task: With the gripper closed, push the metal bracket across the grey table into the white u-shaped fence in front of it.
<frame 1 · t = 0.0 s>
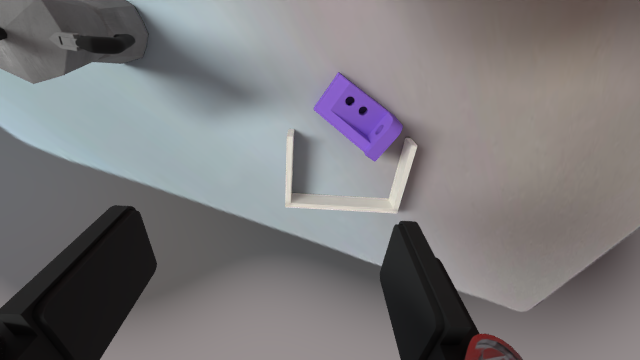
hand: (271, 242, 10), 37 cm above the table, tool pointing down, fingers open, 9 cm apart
coffeepot: (124, 29, 38), on the table
bracket: (353, 110, 45), on the table
white u-shaped fence: (345, 167, 50), on the table
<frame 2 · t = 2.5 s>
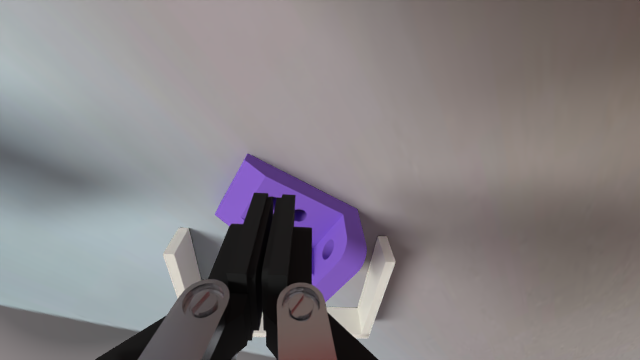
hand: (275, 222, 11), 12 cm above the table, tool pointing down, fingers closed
bracket: (289, 204, 27), on the table
white u-shaped fence: (284, 274, 32), on the table
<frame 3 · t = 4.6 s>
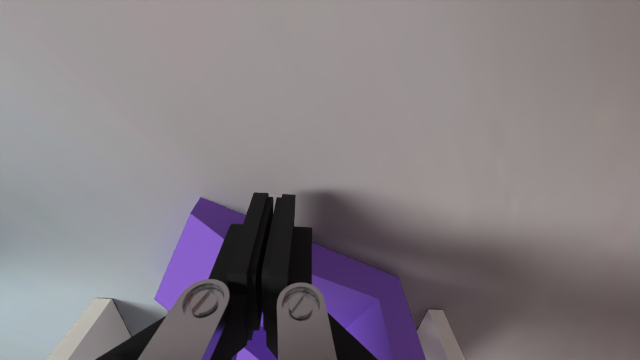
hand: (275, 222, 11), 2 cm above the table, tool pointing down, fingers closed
bracket: (284, 271, 16), on the table, touching gripper
white u-shaped fence: (275, 358, 20), on the table
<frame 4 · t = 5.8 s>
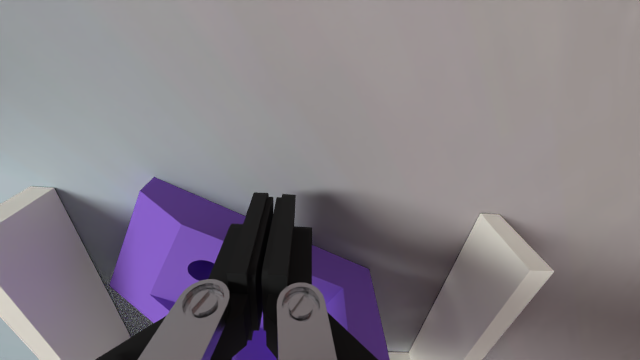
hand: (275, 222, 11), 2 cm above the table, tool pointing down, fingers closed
bracket: (250, 260, 15), on the table, touching gripper
white u-shaped fence: (277, 294, 16), on the table
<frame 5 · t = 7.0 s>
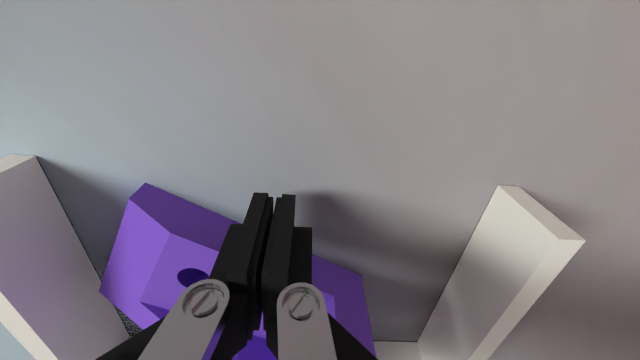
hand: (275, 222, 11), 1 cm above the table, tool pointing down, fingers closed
bracket: (242, 266, 15), on the table
white u-shaped fence: (278, 277, 15), on the table
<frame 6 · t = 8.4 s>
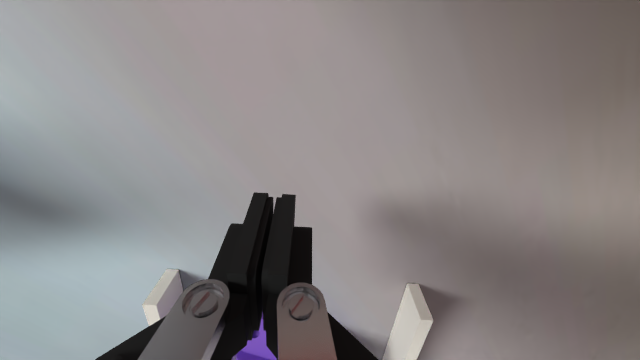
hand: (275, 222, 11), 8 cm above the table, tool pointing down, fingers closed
bracket: (272, 321, 27), on the table
white u-shaped fence: (292, 327, 26), on the table
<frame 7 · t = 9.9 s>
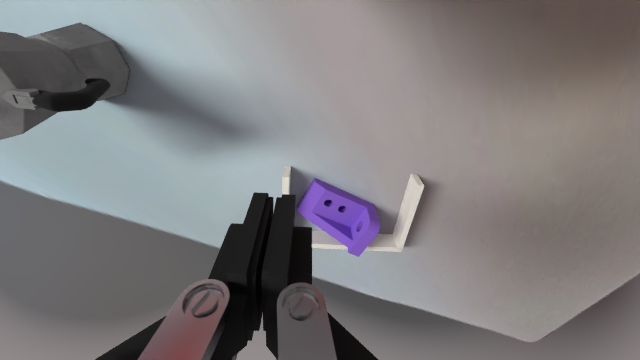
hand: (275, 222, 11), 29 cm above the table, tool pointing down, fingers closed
coffeepot: (102, 65, 34), on the table
bracket: (335, 204, 47), on the table
white u-shaped fence: (345, 204, 47), on the table
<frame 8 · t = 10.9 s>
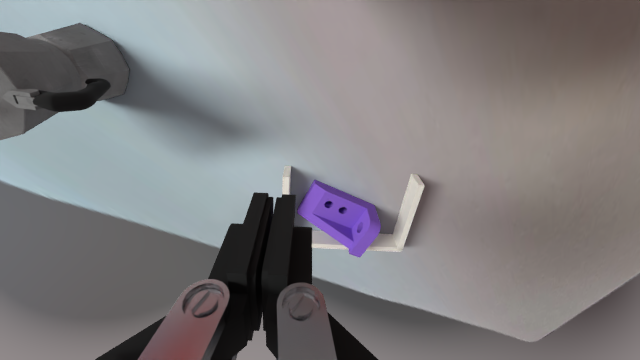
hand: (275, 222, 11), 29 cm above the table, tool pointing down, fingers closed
coffeepot: (103, 65, 34), on the table
bracket: (335, 205, 48), on the table
white u-shaped fence: (346, 204, 47), on the table
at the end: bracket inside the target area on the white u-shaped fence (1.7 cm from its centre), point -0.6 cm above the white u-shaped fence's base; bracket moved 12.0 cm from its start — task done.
